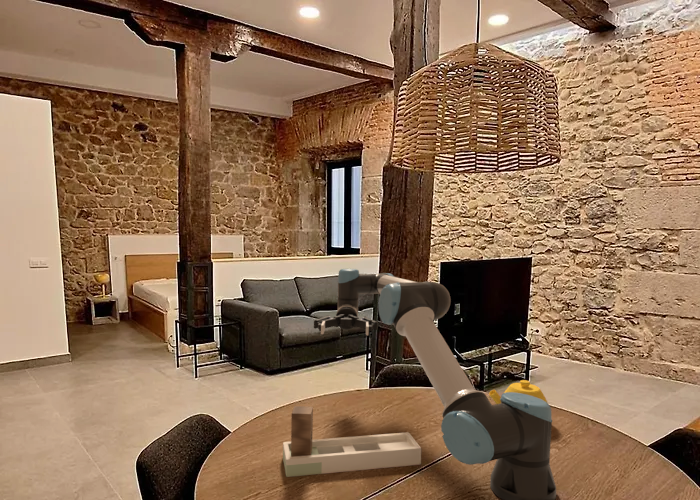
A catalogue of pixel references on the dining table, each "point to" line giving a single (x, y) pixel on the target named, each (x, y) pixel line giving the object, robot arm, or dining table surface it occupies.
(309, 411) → the walnut block
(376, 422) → the dining table surface
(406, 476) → the dining table surface
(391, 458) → the tray
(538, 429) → the robot arm
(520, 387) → the teapot
